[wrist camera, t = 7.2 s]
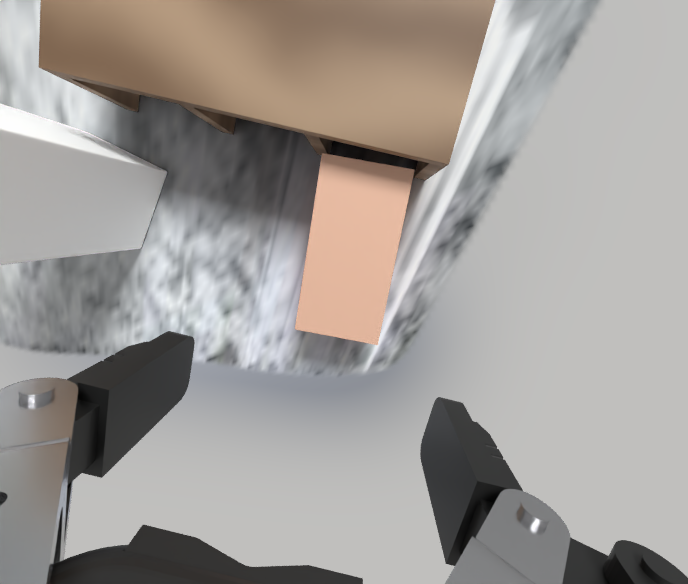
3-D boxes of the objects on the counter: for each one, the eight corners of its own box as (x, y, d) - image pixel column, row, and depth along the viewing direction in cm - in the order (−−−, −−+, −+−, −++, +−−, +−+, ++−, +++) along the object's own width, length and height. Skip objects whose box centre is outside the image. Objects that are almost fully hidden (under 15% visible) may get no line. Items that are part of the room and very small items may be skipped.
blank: (331, 168, 23) (322, 153, 18) (403, 181, 23) (414, 169, 18) (308, 308, 25) (294, 329, 20) (374, 320, 25) (377, 345, 20)
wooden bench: (144, -102, 20) (48, -244, 14) (480, -24, 20) (533, -133, 14) (126, 109, 22) (38, 67, 16) (425, 180, 22) (448, 164, 16)
